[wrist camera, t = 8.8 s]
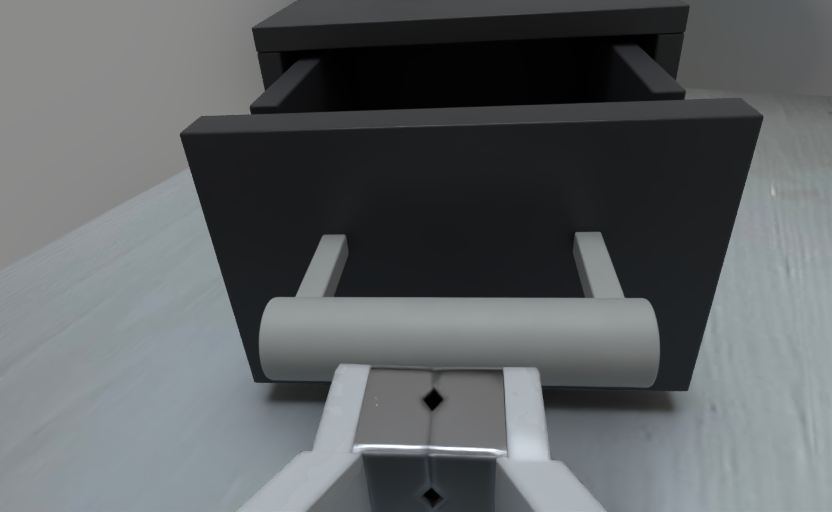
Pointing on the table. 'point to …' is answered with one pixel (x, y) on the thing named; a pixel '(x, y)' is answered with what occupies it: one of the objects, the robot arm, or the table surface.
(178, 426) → the table surface
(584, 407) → the table surface
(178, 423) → the table surface
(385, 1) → the box
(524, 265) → the drawer
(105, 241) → the table surface
